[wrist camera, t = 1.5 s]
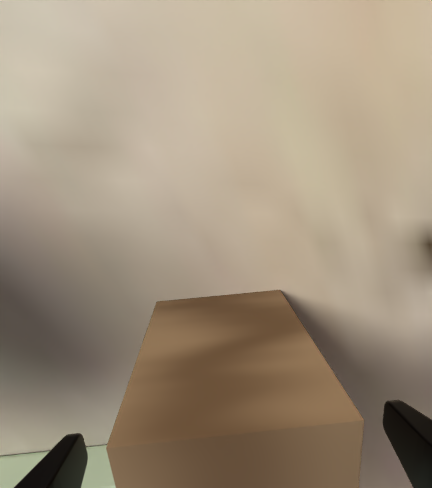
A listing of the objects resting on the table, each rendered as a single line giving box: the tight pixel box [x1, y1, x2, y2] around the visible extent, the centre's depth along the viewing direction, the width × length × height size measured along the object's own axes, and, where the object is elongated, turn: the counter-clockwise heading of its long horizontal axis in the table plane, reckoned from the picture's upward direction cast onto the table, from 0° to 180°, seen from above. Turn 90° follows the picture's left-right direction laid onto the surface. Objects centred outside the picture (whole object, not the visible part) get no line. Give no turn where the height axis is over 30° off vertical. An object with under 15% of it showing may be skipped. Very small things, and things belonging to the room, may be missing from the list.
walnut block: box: [106, 290, 364, 488], centre depth 9 cm, size 5×5×6 cm
